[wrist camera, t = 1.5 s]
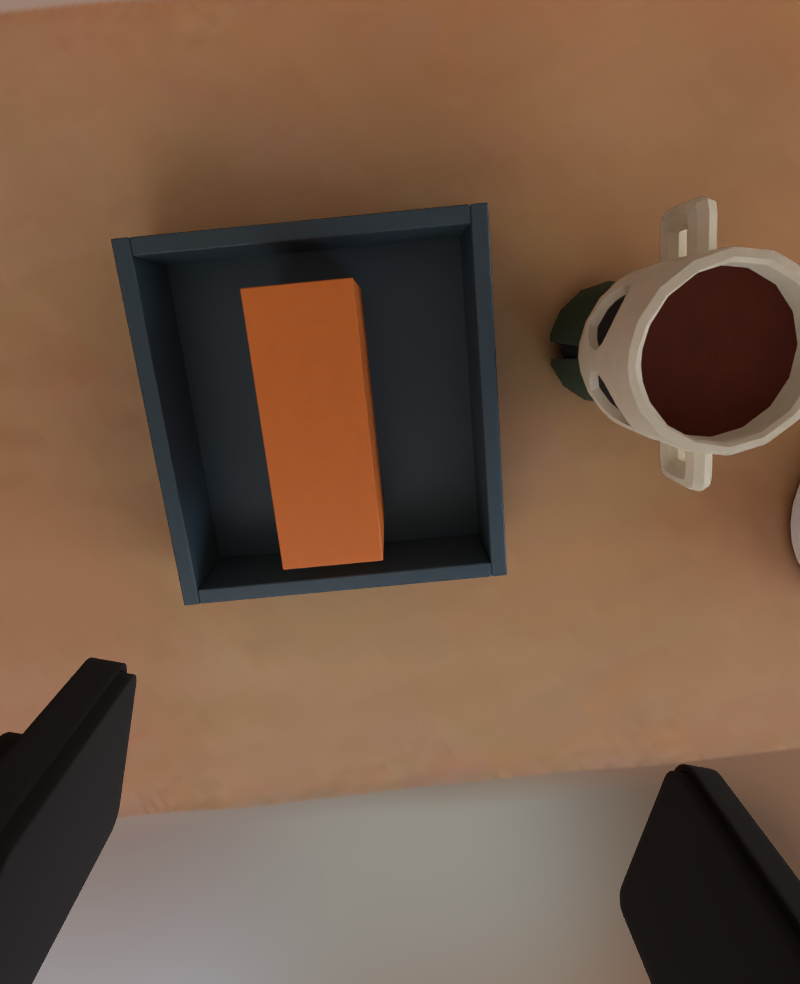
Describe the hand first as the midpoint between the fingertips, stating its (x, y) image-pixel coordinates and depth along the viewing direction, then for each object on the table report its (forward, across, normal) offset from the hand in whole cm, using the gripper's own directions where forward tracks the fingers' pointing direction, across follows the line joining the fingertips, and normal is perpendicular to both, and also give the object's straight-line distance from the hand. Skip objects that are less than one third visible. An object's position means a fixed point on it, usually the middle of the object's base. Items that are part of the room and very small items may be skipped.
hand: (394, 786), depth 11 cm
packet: (+25, +3, -2) cm, 25 cm away
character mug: (+26, -10, -9) cm, 29 cm away
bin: (+26, +3, -2) cm, 26 cm away
